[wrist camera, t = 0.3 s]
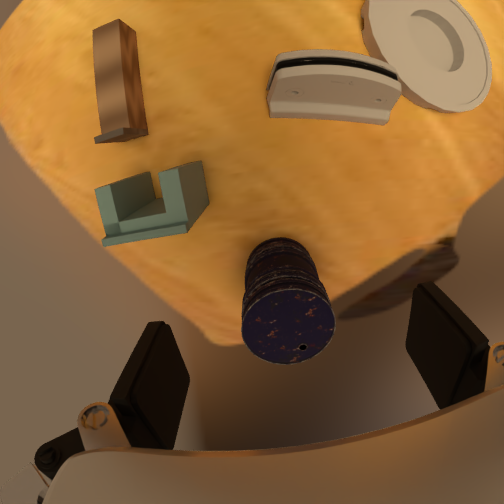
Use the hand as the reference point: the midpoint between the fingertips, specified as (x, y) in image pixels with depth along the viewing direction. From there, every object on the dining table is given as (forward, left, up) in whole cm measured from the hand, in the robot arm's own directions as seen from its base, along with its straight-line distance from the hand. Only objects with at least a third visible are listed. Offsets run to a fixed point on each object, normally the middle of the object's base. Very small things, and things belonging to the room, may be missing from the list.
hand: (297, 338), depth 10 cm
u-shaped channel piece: (-3, -13, -30) cm, 33 cm away
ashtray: (-22, +28, -31) cm, 47 cm away
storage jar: (+11, 0, -30) cm, 32 cm away
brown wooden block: (-20, -17, -30) cm, 40 cm away
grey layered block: (-13, +10, -31) cm, 35 cm away
